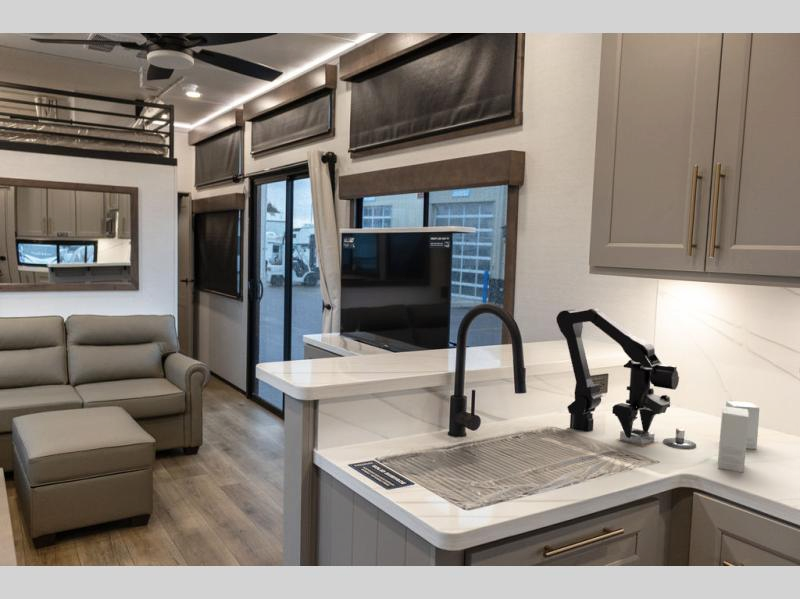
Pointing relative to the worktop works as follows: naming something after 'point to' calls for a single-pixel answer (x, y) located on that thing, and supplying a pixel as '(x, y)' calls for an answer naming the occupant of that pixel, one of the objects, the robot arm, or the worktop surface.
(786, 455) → the worktop surface
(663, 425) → the worktop surface
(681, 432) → the hub
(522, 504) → the worktop surface
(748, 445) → the supplement box
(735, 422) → the skincare box
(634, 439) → the collar
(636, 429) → the stand
